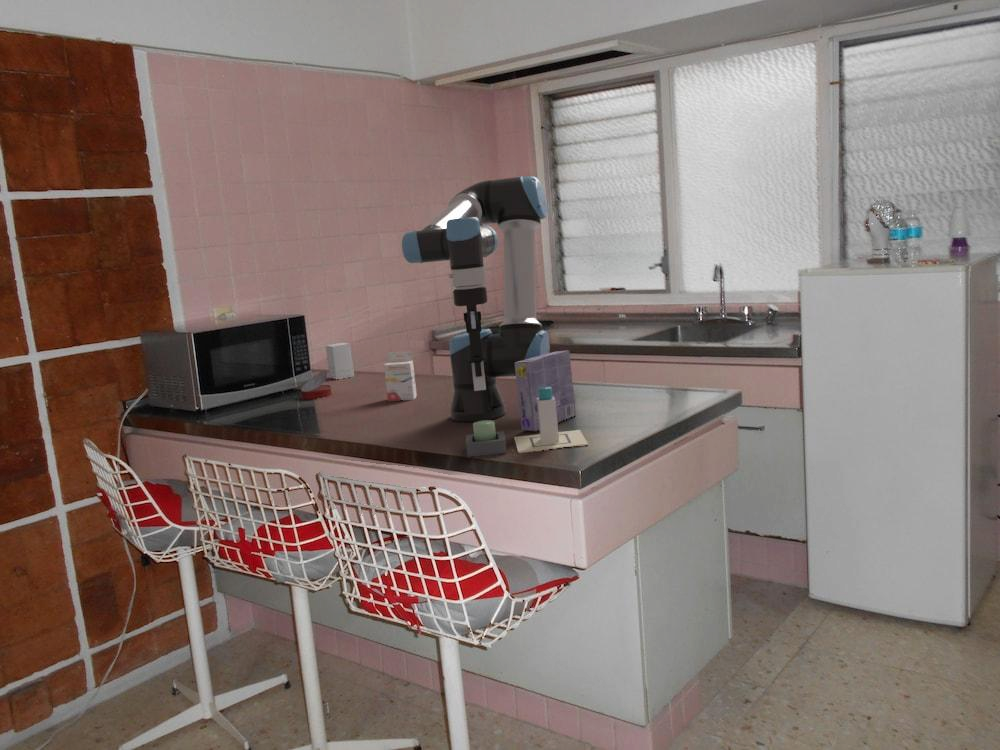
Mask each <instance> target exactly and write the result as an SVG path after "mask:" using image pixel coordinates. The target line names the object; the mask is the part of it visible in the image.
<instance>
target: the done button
mask: <svg viewBox="0 0 1000 750" xmlns="http://www.w3.org/2000/svg"><path fill="white" fill-rule="evenodd" d="M472 427H473V434H474V439H475V442H478V441H487V440H496V432H497V431H496V423H495V420H492V419H489V420H483V421H474V422H473V423H472Z"/></svg>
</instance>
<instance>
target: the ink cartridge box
mask: <svg viewBox="0 0 1000 750" xmlns="http://www.w3.org/2000/svg"><path fill="white" fill-rule="evenodd" d="M385 355H386V359H387V360H386V362H385V364H383V368H384V378H385V386H386V389H385V390H386V397H387V402H398V401H399V402H400V400H403V401H414V400H415V399H416V398H417V385H416V379H415V369H414V361H413V357H412V356H413V355H412V352H411V350H408V351H395V352H387V353H386V354H385ZM398 356H400V357H398ZM401 356H403V357H401Z"/></svg>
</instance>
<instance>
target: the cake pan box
mask: <svg viewBox="0 0 1000 750" xmlns="http://www.w3.org/2000/svg"><path fill="white" fill-rule="evenodd" d="M571 363H572V362H571V352H570V350H568V349H567V350H558V351H553V352H549V354H545V355H541V356H536V357H533V358H529V359H526V360H522V361H518V362H515V372H516V376H515V378H516V381H515V382H516V388H517V397H518V407H519V417H520V427H521V430H522V431H526V432H534V433H536V432H538V431H539V432H540V430H539V419H538V408H537V398H539V394H538V388H541V387H552V396H554V398H555V401H556V412H557V423H558V424H560V423H562V422H563V420H564V421H567V420H569V419H571V417H572V418H574V416H575V417H577V414H576V406H575V403H576V402H575V393H574V384H573V383H574V382H573V374H572V372H573V371H572V364H571ZM566 419H567V420H566ZM561 421H562V422H561ZM559 422H560V423H559Z"/></svg>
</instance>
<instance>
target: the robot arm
mask: <svg viewBox="0 0 1000 750" xmlns="http://www.w3.org/2000/svg"><path fill="white" fill-rule="evenodd" d="M547 206H548V205H547V200H546V195H545V191H544V189H543V185H542V184H541V181H540V180H539V179H538V177H536V176H531V175H529V176H528V175H527V176H521V175H519V176H517V177H516V176H515V177H509V178H507V177H506V178H500V179H493V180H484V181H480V182H477V183H474V184H472V185H469V186H468V187H466V188H465V189H462V190H461V191H460V192H457V194H455V195H454V196H453V197H452V198H451V199H450V201H449V203H448V205H447V208H445V209H444V210H443V211H442V212H441V213H440V214H439V215H437V216H436V217H435V218H434V219H433V220H432V221H430V222H429V223H428V224H427V225H426V226H425V227H424V228H423V229H422V230H413V231H409V232H406V233H404V234H403V236H402V238H401V250H402V254H403V255H402V256H403V258H404V259H405V261H406V262H408V263H409V264H423V263H432V262H434V263H435V262H442V261H443V262H445V261H449V264H450V271H451V273H449V274H448V278H449V279H451V280H452V281H451V282H452V283H451V284H452V287H453V288H455V289H453V291H452V294H453V302H454V305H455V307H466V312H464V313H463V321H464V323H465V331H466V332H463V333H461V334H460V333H459V334H458V335H455V336H453V337H451V338H450V340H449V357H450V367H451V374H452V382H453V395H452V401H451V404H450V410H449V414H450V419H451V420H452V421H454V422H460V423H461V422H463V423H464V422H465V423H466V422H467V423H469V422H470V423H472V422H473V423H475V422H478V421H484V420H492V419H493V420H494V419H497V418H500V417H502V416H504V415H506V413H507V412H506V404H505V402H504V400H503V398H502V395H501V393H500V391H499V388H498V385H497V379H496V378H506V377H516V372H515V362H518V361H522V360H526V359H529V358H533V357H536V356H541V355H545V354H549V353H550V348H551V347H550V346H551V345H550V337H549V336H550V335H549V333H548V332H547V331H546V330H543V325H542V323H541V322H539V321H538V319H537V286H536V284H537V283H536V282H537V280H536V232H537V231H538V230H539V229H540V228H541V220H544V219H546V217H547V216H548V208H547ZM487 224H488V225H487ZM489 224H497V229H498V230H499V231H500V232H501V233H503V234H502V235H503V237H502V239H503V242H502V243H503V248H502V249H503V293H504V294H503V302H504V303H503V304H504V306H503V307H504V309H503V310H504V311H503V313H504V319H503V321H502V322H501V323H500V324H499V325H498V333H493V331H492V330H491V328H482V322H481V320H482V312H481V311H478V309H477V306H478V305H484V304H486V303H488V294H487V287H486V286H484V285H486V283H487V281H486V271H485V266H484V264H485V263H484V258H487V257H489V256H490V255H491V254H493V253H494V252H495V251H496V249H497V248H498V245H499V237H498V234H497V231H495V229H494V228H493V227H491V226H490V225H489Z"/></svg>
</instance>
